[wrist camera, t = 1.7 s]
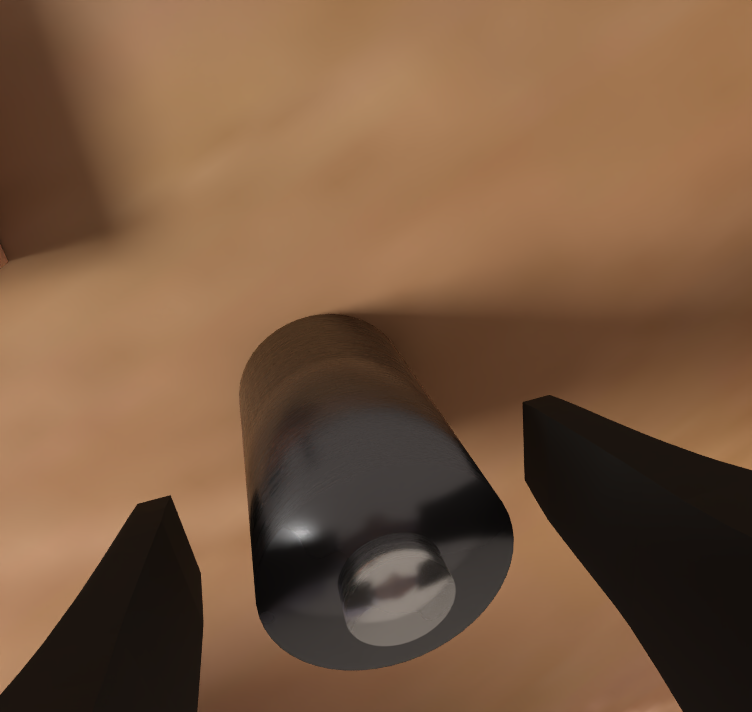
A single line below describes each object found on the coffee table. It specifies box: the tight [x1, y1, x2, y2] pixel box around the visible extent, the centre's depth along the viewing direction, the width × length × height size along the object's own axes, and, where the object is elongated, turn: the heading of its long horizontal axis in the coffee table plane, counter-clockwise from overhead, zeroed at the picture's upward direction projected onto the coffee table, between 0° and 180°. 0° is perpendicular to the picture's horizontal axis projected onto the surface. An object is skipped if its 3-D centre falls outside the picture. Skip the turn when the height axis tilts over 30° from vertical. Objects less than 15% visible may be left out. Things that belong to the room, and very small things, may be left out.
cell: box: [239, 314, 514, 670], centre depth 12 cm, size 4×4×7 cm
